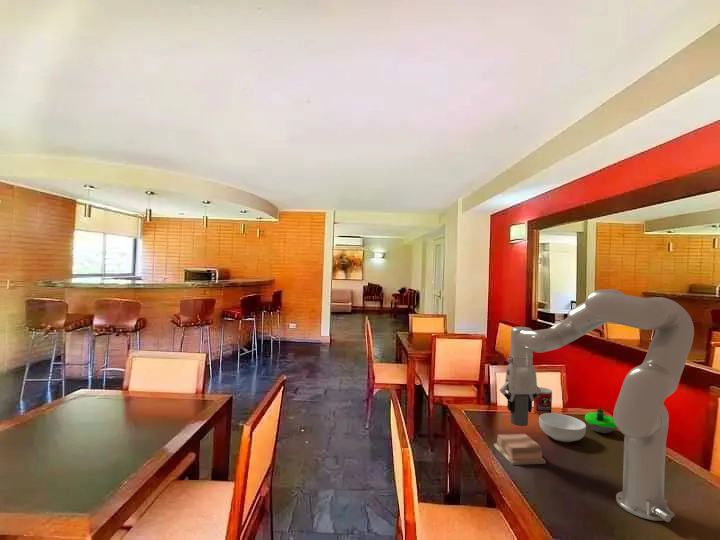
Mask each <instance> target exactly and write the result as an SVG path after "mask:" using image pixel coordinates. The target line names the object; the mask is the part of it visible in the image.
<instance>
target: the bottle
mask: <svg viewBox="0 0 720 540" xmlns="http://www.w3.org/2000/svg"><path fill="white" fill-rule="evenodd" d="M513 401H514V413H512V412H510V423H511V424H512V425H515V426H517V427H527V426H528V425H529V412H528V405H529V395H515V397H514V399H513Z"/></svg>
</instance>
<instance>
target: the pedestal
mask: <svg viewBox="0 0 720 540" xmlns="http://www.w3.org/2000/svg"><path fill="white" fill-rule="evenodd" d="M496 436H497V437H496V439H497V440H496V443H493V447H494V448H495V449H496V450H497V451H498V452H500V454H501V455H502V456H503V457H505V459H506V460H507V461H509V463H510V464H511V465H512V466H513V465H515V466H519V465H543V464H546V463H547V462H546V460H545V459H544V458H543V446H541V445H540V444H539V443H537V441H535V440H534V439H532V438H531V437H530V436H528V435H527V434H526V433H510V434H509V433H506V434H497V435H496Z"/></svg>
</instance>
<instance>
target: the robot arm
mask: <svg viewBox="0 0 720 540" xmlns="http://www.w3.org/2000/svg"><path fill="white" fill-rule="evenodd" d="M608 323H613V324H617V325H622V326H626V327H630V328H634V329H639V330H646V331H652V330H655V332H654V335H653V338H652V339H651V341H650V343H649V346H648V349H647V352H646V355H645V358H644V360H643V362H642V363H641V364H640V365H637V366H635V367H633V368H632V369H630V371H629V372H628V373H627V374H626V376H625V378H624V380H623V381H622V382H623V383H622V385H621V387H620V388H621V389H620V391H619V394H618V397H617V400H616V402H615V404H614V409H613V415H612V416H613V418H614V422H615V425H616V426H617V427H616V428H617V430H618V431H619V432H620V433H622V435H624V441H623V467H622V470H623V472H622V491H619V492H617V493H616V495H615V501H616V503H617V504H618V505H619V506H620V507H621V508H622V509H623V510H625V511H626V512H628V513H630V514H631V515H634V516H636V517H639V518H642V519H644V520H645V519H646V520H650V521H653V522H655V521H657V522H662V521H665V522H666V523H669V522H671V520H672V518H675V515H676V513H675V512H673V511H672V510H670V508H669V507H668V500H666V499H665V471H666V450H667V449H666V447H667V437H668V430H669V421H670V416H669V411H668V409H667V407H666V405H664V404H665V403H664V402H665V401H666V399H667V398H668V397H670V396H671V395H672V394H674V393H675V392H676V391H677V389H678V386H679V383H680V380H681V377H682V374H683V371H684V368H685V366H686V364H687V359H688V357H689V354H690V352H691V348H692V345H693V342H694V337H695V327H694V323H693V319H692V318H691V315H690V314H689V312H688V311H687V310H686V309H685V308H684V307H682V306H681V305H680V304H679V303H678V302H677V301H674V300H673V299H669V298H666V297H661V296H659V297H658V296H657V297H656V296H655V297H640V296H635V295H628V294H625V293H624V292H622V291H620V290H617V289H613V288H609V289H606V288H605V289H597V290H594V291H591V292H590V293H589V294H588V295H587V297H586V298H585V300H584V302H582V303H580V304H578V305H577V306H575V307H573V308H571V309H570V310H569V311H567V317H566V318H565V319H563V320H562V321H560V322H559V323H557V324H555V325H553V326H551V327H549V328H544V329H536V330H534V329H532V328H531V327H525V326H513V327H512V328H511V330H510V350H509V351H510V353H509V357H508V358H506V362H507V363H508V365H507V369H506V373H505V379H504V384H503V385H502V386H501V387H500V388H499V392H500V393H501V394H502V395H503V396H504V397H505V399H507V403H506V404H507V406H506V407H507V410H508V412H510V413H511V412H512V413H514V401H513V399H514V397H515V395H529V405H528V413H532V410H533V402H534V398H535V397H536V396H537V394H539V393H540V392H541V390H540V389H539V386H538V384H537V383H538V382H537V381H538V380H537V371H536V367H535V365H533V357H534V354H533V353H538V354H539V353H540V354H541V353H546V352H550V351H554V350H558V349H560V348H562V347H564V346H566V345H568V344H570V343H572V342H575V341H576V340H578V339H579V338H581V337H583V336H585V335H586V334H588V333H590V332H591V331H594V330H596V329H597V328H599V327H602V326H604V325H605V324H608Z"/></svg>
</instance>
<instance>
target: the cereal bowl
mask: <svg viewBox="0 0 720 540" xmlns="http://www.w3.org/2000/svg"><path fill="white" fill-rule="evenodd" d="M538 416H539V417H538V423H539V427H540V429H541V430H542V432H543V433H545V435H547V436H549V437H550V438H552V439H553V440H555V441H558V442H562V443H571V442H575V441H576V442H577V441H580V440H581V439H583V438H584V436H585V434H586V431H587V425H586V423H585V422H584V421H583V420H581V419H578V418H576V417H574V416H570V415H567V414H563V413H556V412H551V413H544V414H541V415H538Z"/></svg>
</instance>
